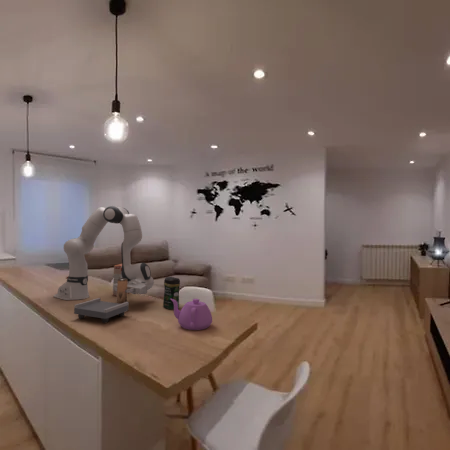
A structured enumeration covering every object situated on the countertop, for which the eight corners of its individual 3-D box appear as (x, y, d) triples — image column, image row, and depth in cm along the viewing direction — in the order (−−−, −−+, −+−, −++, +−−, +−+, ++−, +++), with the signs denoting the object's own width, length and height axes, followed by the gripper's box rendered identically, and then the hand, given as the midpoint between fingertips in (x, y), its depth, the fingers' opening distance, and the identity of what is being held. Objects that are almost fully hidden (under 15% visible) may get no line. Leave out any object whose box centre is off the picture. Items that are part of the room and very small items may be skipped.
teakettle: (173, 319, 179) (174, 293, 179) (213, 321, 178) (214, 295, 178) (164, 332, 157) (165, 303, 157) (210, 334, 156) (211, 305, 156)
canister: (114, 303, 191) (115, 279, 191) (120, 301, 196) (121, 277, 196) (122, 304, 189) (123, 280, 189) (128, 302, 194) (129, 278, 194)
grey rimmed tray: (73, 319, 171) (74, 304, 171) (98, 311, 188) (98, 297, 188) (105, 324, 165) (106, 309, 165) (128, 315, 182) (128, 302, 182)
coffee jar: (160, 307, 202) (161, 276, 202) (171, 305, 208) (172, 275, 208) (171, 310, 196) (172, 278, 196) (181, 308, 202) (182, 277, 202)
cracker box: (120, 296, 226) (121, 265, 226) (112, 295, 227) (113, 265, 227) (130, 292, 240) (131, 263, 239) (122, 291, 241) (123, 262, 241)
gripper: (121, 279, 208) (106, 283, 195) (149, 283, 201) (136, 287, 188) (121, 289, 208) (106, 293, 195) (149, 293, 201) (135, 298, 188)
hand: (121, 290), depth 192 cm, fingers closed on canister, 6 cm apart
